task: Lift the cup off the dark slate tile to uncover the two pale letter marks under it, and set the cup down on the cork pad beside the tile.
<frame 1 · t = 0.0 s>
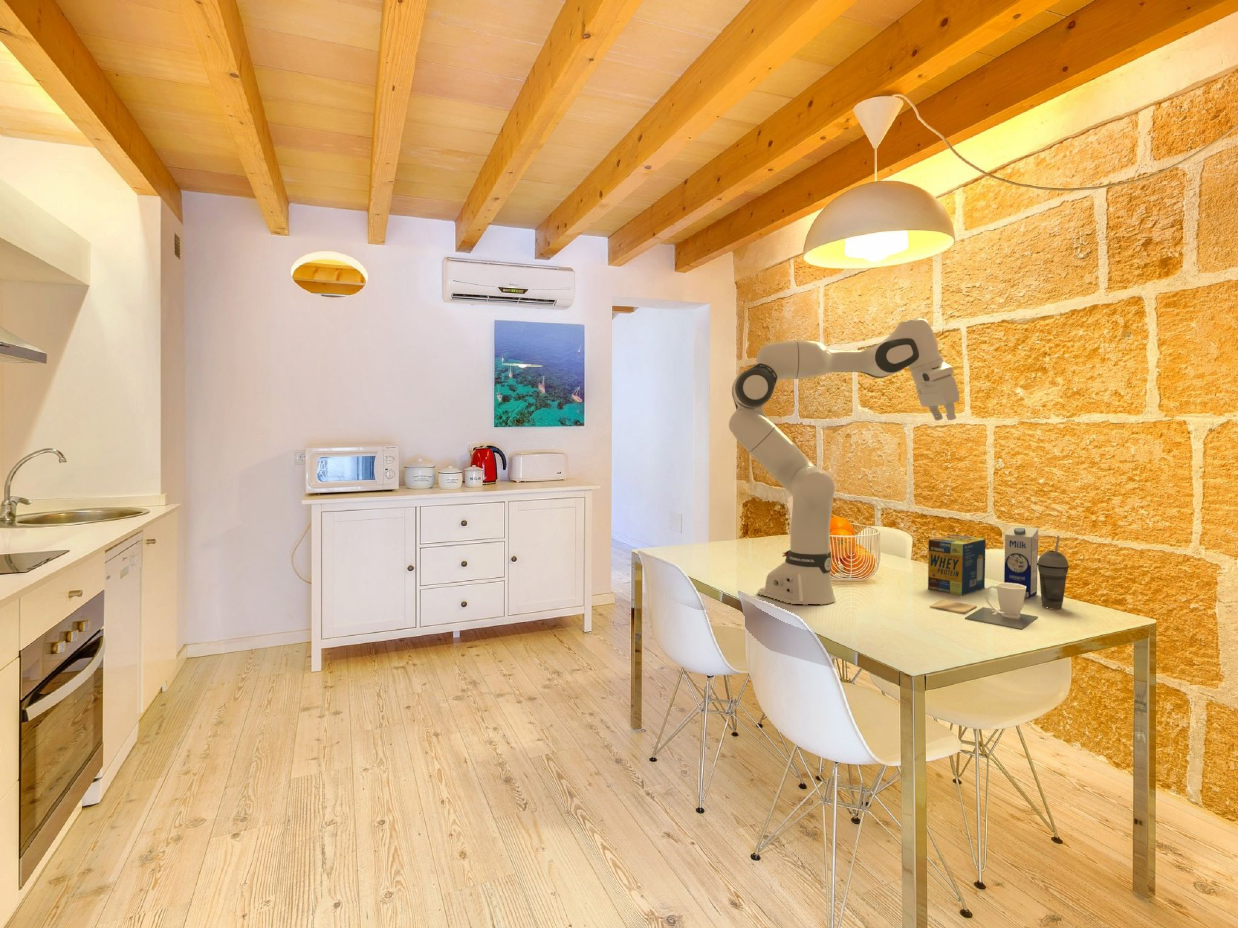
hand: (945, 419, 182), 52 cm above the table, tool tilted 20°, fingers open, 8 cm apart
cup: (1004, 615, 170), resting on code tile
milk carton: (1020, 595, 191), on the table
cork pad: (953, 607, 178), on the table
beverage cup: (1051, 607, 177), on the table
protein box: (956, 589, 199), on the table
code tile: (1001, 618, 168), on the table
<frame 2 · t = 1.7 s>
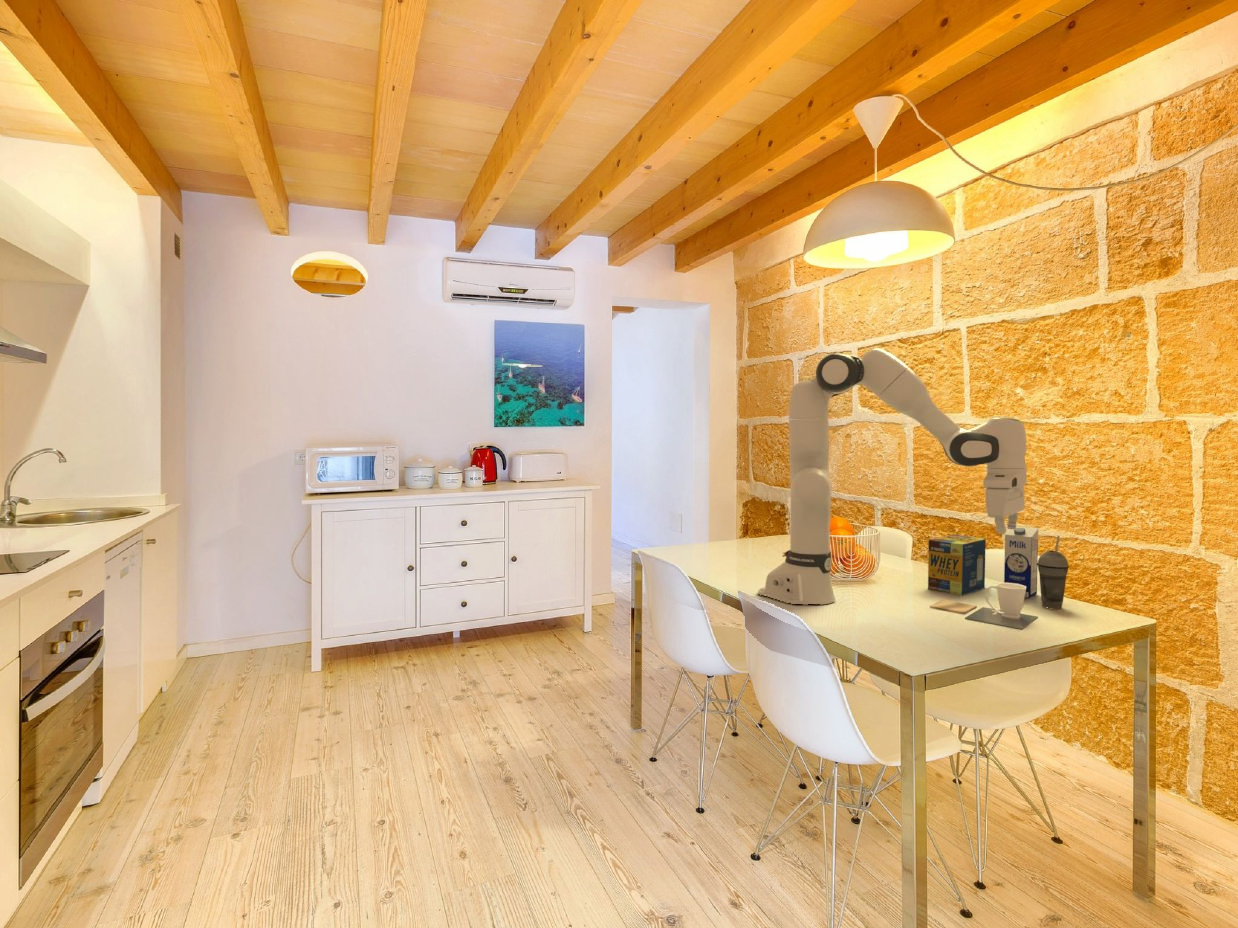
hand: (1006, 531, 169), 22 cm above the table, tool pointing down, fingers open, 8 cm apart
nothing on the table moved.
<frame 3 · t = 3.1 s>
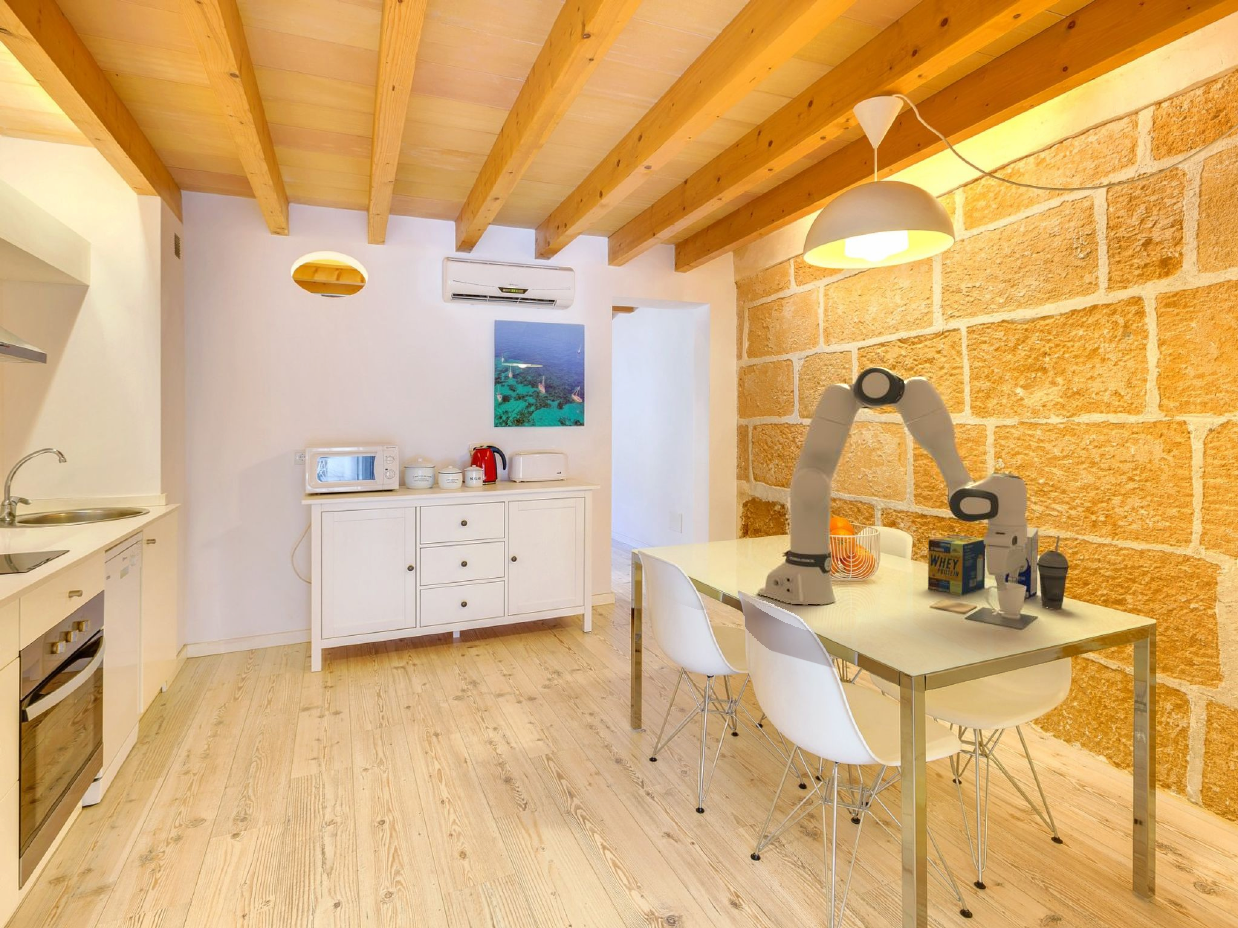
hand: (1007, 586, 169), 8 cm above the table, tool pointing down, fingers open, 8 cm apart
cup: (1004, 615, 170), resting on code tile, touching gripper
everything else where it was.
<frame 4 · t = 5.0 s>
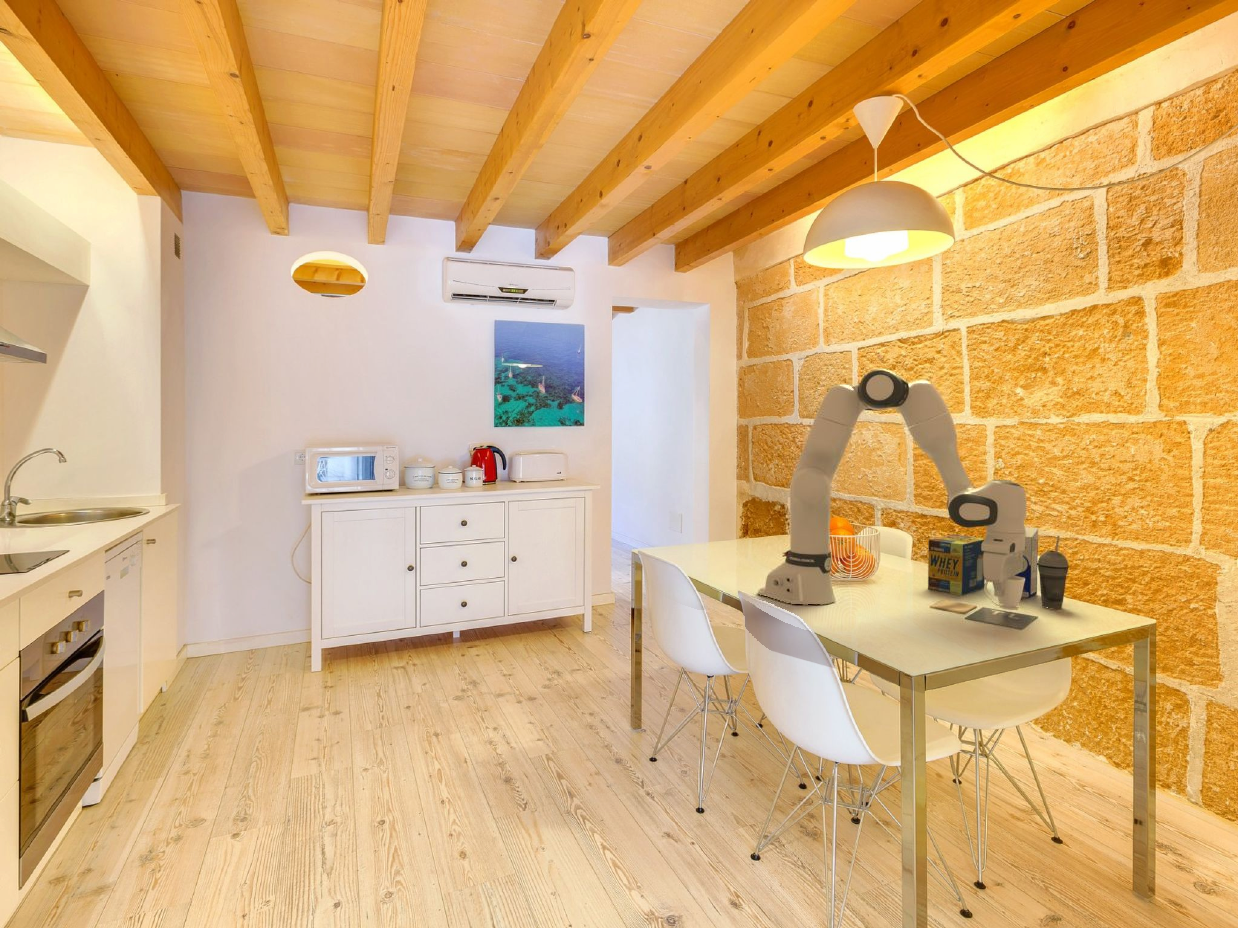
hand: (1003, 593, 170), 6 cm above the table, tool pointing down, fingers closed on cup, 6 cm apart
cup: (1003, 607, 170), point 2 cm above the table, touching gripper
everything else where it was.
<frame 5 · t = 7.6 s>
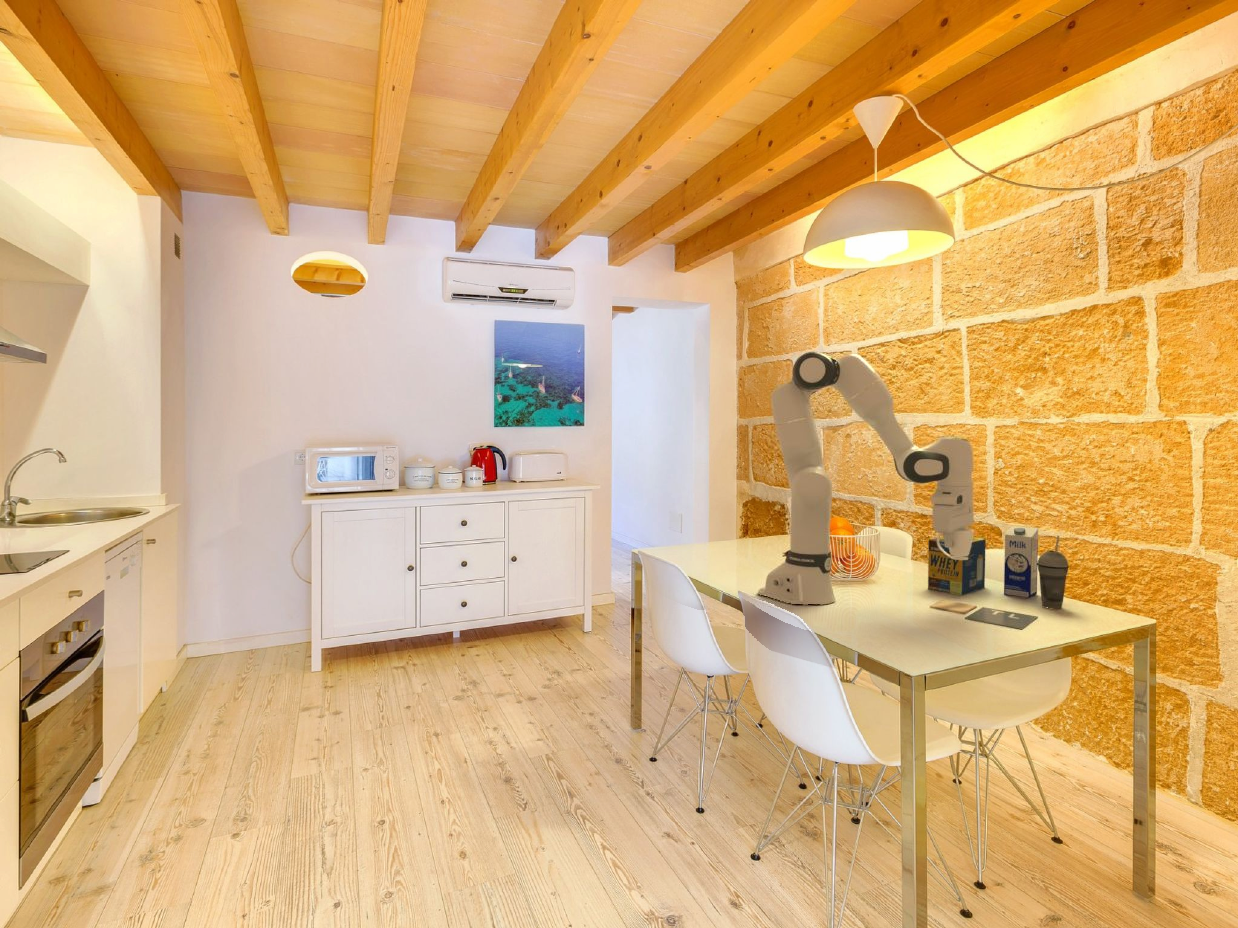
hand: (954, 545, 177), 17 cm above the table, tool pointing down, fingers closed on cup, 6 cm apart
cup: (954, 558, 178), point 14 cm above the table, touching gripper
everything else where it was.
when the fingers open (5 cm above the table, at t = 10.1 s): cup drops 1 cm, resting on cork pad.
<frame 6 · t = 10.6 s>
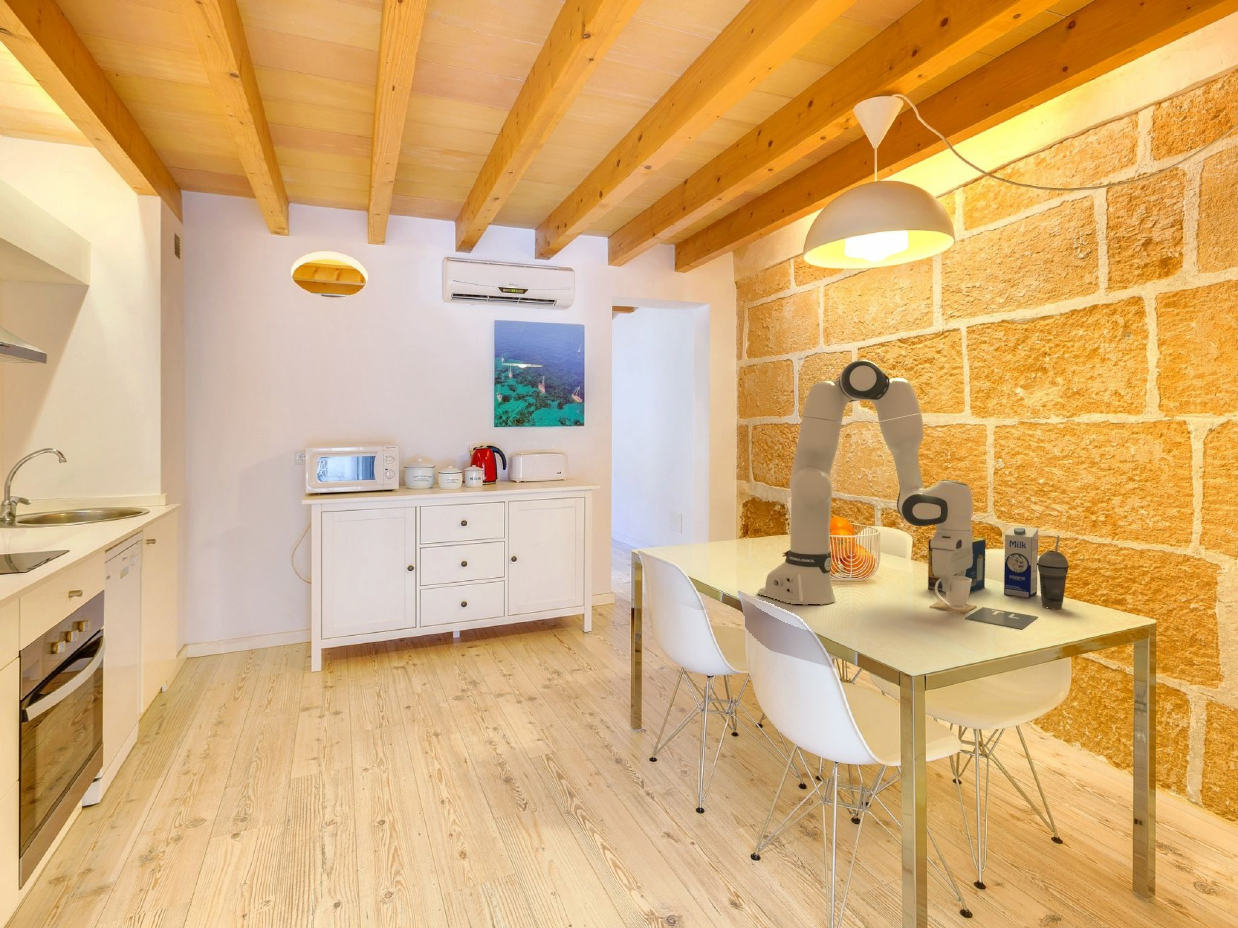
hand: (953, 588, 178), 5 cm above the table, tool pointing down, fingers open, 8 cm apart
cup: (952, 606, 178), resting on cork pad, touching gripper
everything else where it was.
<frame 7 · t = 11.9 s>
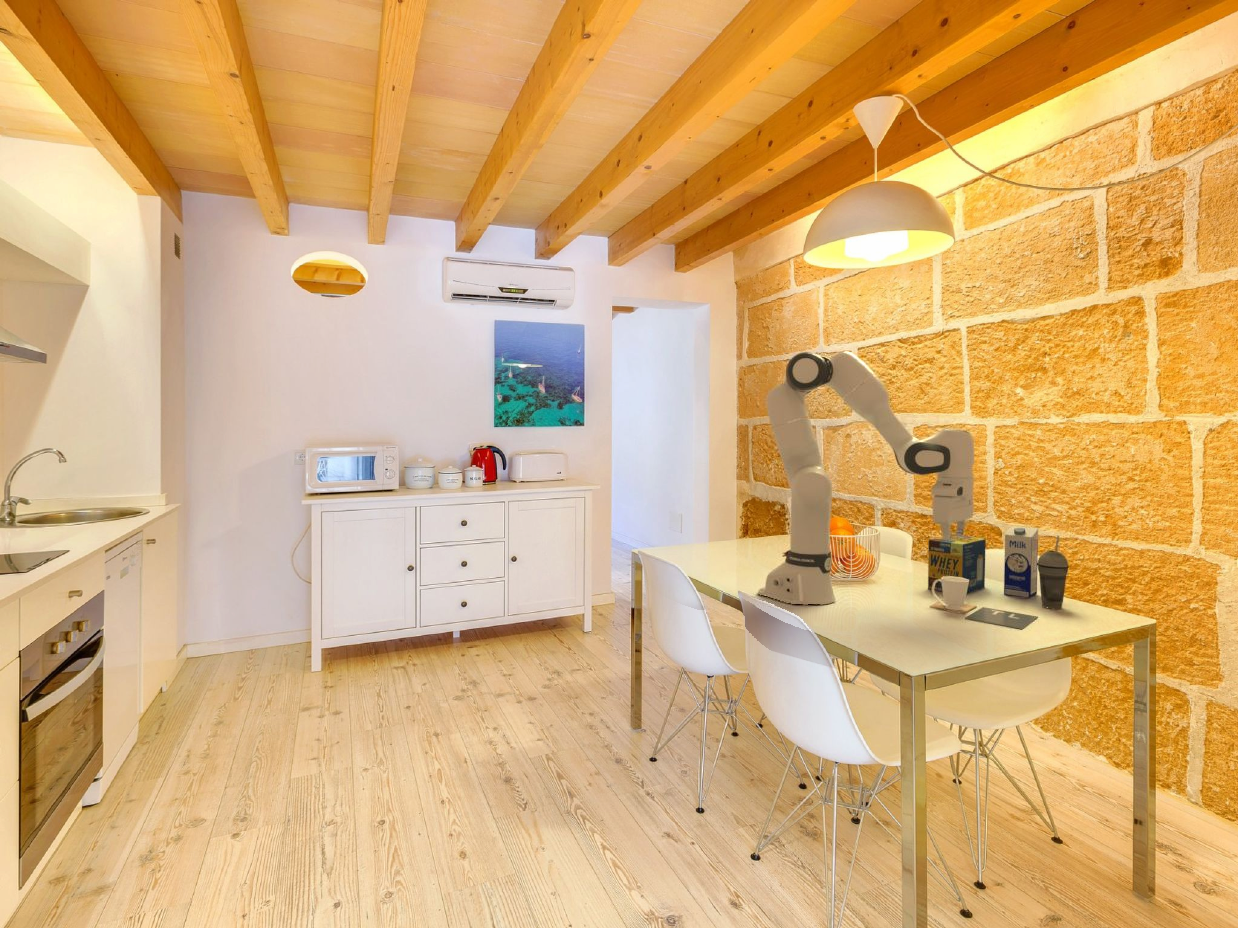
hand: (953, 537, 177), 20 cm above the table, tool pointing down, fingers open, 8 cm apart
cup: (948, 607, 177), resting on cork pad
everything else where it was.
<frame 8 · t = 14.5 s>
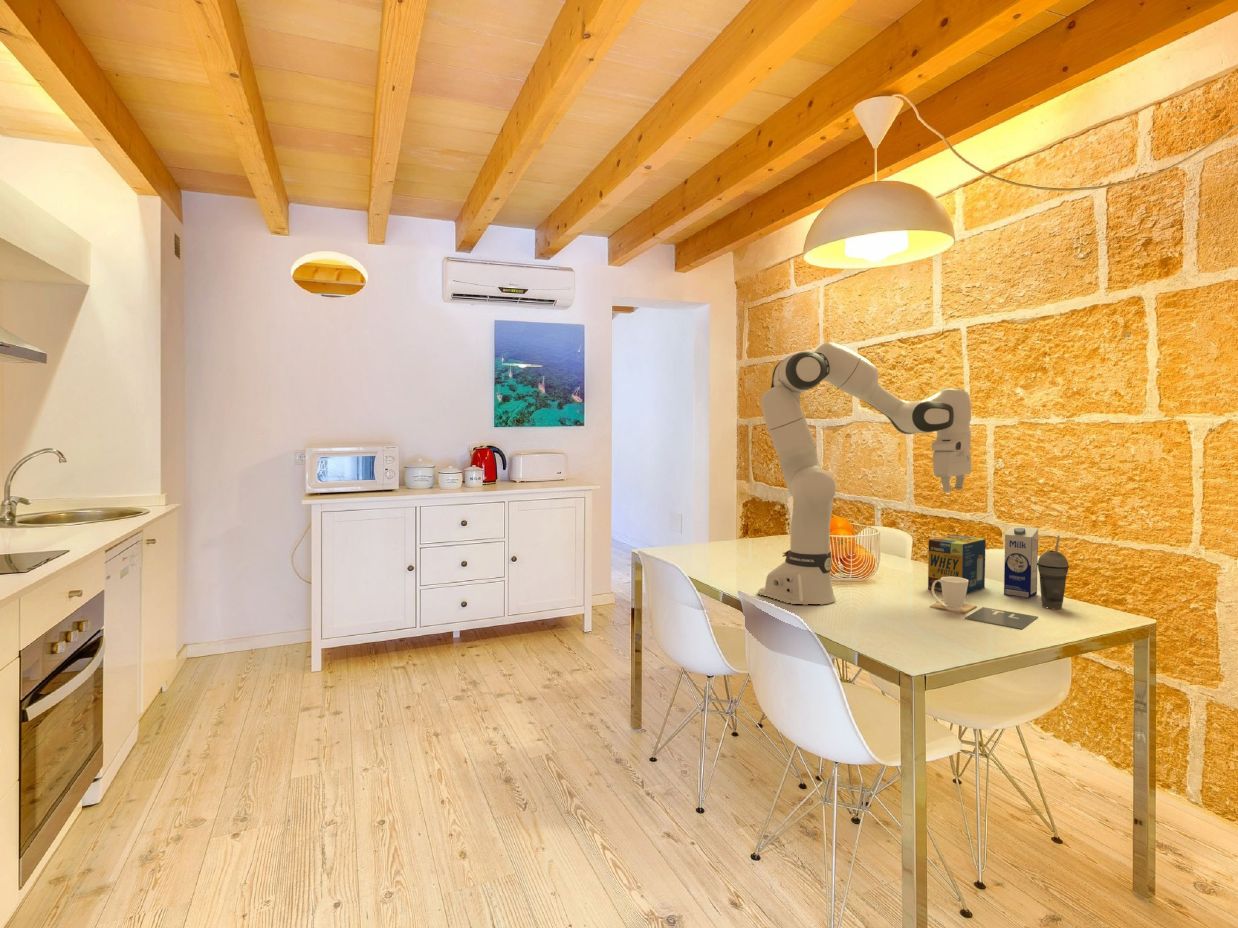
hand: (953, 491, 189), 31 cm above the table, tool pointing down, fingers open, 8 cm apart
nothing on the table moved.
at the end: cup 2.4 cm off-centre on the cork pad, point 0.3 cm above the cork pad's base; cup tilted 0°; cup touching cork pad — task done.
